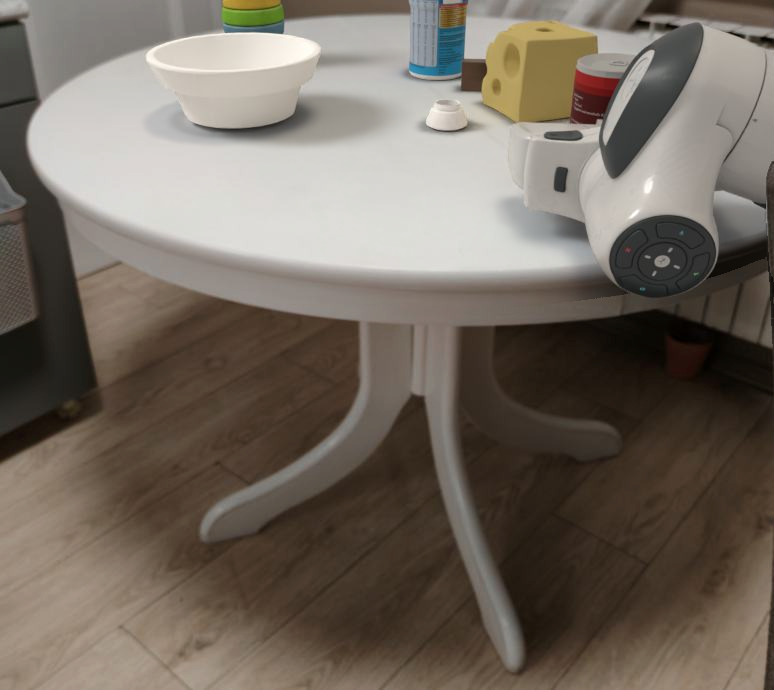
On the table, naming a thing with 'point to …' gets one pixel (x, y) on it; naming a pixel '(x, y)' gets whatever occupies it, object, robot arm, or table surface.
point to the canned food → (596, 85)
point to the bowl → (236, 76)
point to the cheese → (535, 70)
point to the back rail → (473, 74)
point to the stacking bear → (253, 16)
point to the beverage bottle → (437, 38)
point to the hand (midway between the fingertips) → (610, 127)
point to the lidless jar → (446, 115)
